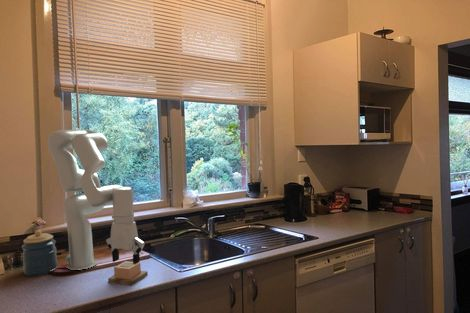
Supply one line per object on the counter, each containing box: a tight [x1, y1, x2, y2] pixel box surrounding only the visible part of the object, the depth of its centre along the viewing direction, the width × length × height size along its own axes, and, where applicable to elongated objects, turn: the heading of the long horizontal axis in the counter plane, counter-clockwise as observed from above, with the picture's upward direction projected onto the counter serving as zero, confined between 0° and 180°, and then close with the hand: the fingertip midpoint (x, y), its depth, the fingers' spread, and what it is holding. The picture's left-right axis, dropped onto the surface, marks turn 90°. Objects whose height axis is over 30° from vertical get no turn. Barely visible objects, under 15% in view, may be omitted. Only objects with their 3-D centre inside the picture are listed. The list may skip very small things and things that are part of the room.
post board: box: [107, 263, 149, 286], centre depth 144 cm, size 11×10×6 cm
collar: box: [113, 260, 142, 279], centre depth 143 cm, size 7×7×4 cm
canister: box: [21, 230, 59, 277], centre depth 157 cm, size 13×13×18 cm
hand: (126, 261), depth 144 cm, fingers open, 9 cm apart
